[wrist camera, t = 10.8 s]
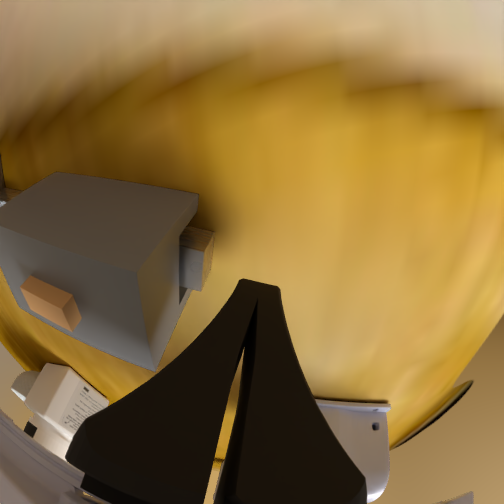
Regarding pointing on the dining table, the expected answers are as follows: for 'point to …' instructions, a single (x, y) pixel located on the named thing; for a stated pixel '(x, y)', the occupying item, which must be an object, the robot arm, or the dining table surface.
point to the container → (60, 407)
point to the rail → (190, 247)
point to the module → (99, 260)
